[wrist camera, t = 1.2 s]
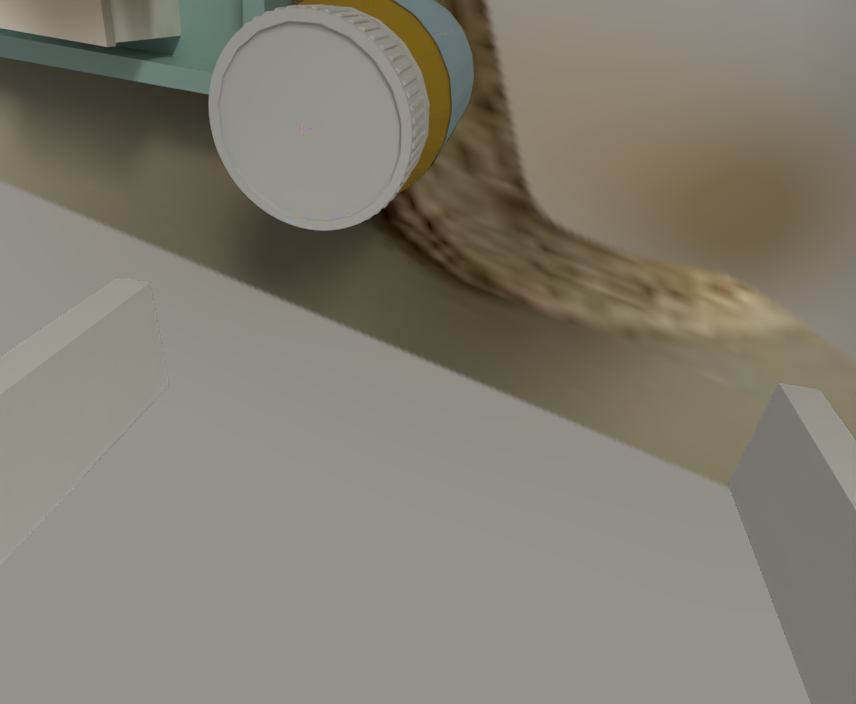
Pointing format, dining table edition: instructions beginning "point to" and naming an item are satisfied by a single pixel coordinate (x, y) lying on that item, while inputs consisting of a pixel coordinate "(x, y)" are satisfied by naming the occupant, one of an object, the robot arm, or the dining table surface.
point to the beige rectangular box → (93, 19)
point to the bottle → (338, 105)
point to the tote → (150, 47)
